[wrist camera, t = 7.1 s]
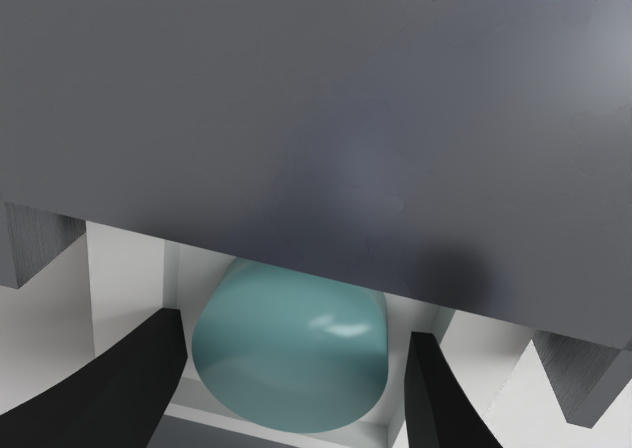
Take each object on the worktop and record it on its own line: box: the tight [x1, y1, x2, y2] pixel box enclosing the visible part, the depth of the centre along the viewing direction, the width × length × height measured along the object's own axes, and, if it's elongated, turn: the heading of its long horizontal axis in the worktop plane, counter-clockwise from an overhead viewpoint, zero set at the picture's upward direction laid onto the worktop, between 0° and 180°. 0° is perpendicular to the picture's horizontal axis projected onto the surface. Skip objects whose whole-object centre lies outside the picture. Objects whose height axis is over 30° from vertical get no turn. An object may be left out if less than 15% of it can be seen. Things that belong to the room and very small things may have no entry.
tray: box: [86, 221, 537, 448], centre depth 14 cm, size 13×11×3 cm
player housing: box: [0, 0, 632, 429], centre depth 10 cm, size 15×12×5 cm
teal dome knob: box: [191, 257, 389, 433], centre depth 14 cm, size 6×6×2 cm
